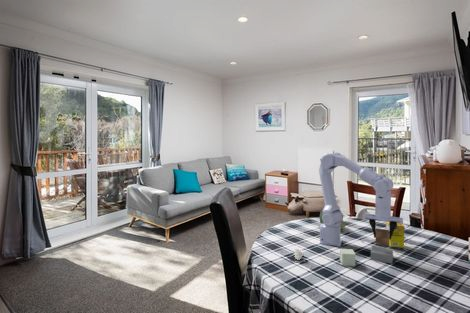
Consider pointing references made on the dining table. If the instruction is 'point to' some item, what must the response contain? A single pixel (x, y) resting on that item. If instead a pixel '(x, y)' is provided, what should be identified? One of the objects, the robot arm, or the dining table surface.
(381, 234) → the walnut cube
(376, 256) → the pedestal block
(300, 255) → the white lumpy piece
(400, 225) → the supplement box
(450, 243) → the dining table surface
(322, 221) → the vegetable
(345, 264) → the sage cube
